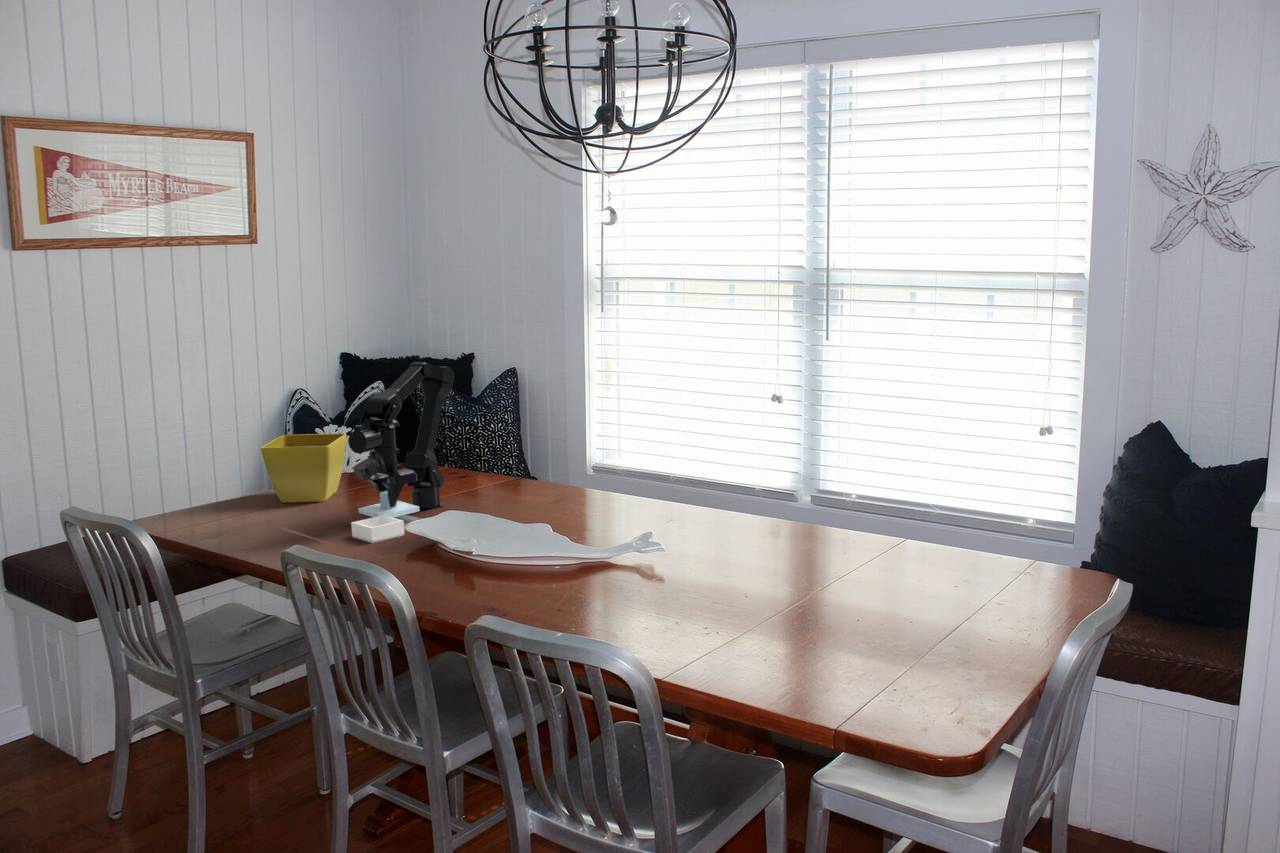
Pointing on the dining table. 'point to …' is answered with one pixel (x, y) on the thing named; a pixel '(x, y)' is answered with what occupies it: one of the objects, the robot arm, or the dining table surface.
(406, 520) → the mat
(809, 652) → the dining table surface
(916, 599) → the dining table surface
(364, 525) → the white open box
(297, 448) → the flower pot
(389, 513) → the lid
